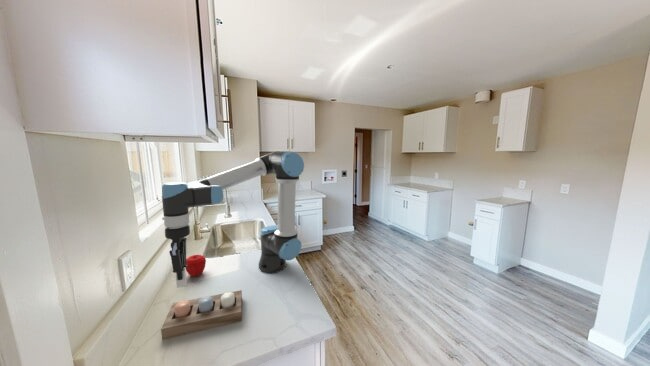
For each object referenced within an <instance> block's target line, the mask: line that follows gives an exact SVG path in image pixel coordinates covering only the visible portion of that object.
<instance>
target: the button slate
mask: <svg viewBox="0 0 650 366" xmlns="http://www.w3.org/2000/svg"><path fill="white" fill-rule="evenodd" d="M211 296H212V295H209V296H207V295H206V296H203V297H200V298H201V299H200V300H199V302H198V305H199V314H200V313H205V312H209V311H214V309H213V298H212V297H211Z"/></svg>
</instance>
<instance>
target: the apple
mask: <svg viewBox="0 0 650 366" xmlns="http://www.w3.org/2000/svg"><path fill="white" fill-rule="evenodd" d="M206 263H207V259H206V257H205V256H204V255H202V254H194V255H190V256H188V257H186V264H185V265H188V266H187V267H185V272H187V274H188V275H189V276H191V277H194V278H195V277H198V276H200V275H201V274H202V273H203V272H205V271H204V270H205V268H206Z"/></svg>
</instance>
